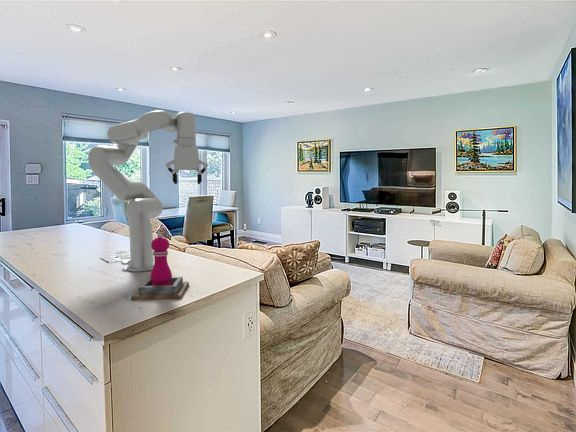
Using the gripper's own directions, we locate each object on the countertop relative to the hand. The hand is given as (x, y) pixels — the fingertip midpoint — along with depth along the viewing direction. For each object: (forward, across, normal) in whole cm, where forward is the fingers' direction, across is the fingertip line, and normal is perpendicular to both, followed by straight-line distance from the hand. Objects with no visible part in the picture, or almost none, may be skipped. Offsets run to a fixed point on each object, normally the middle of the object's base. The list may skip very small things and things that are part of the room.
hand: (187, 183), depth 148 cm
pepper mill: (+37, -5, -27) cm, 46 cm away
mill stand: (+38, -5, -27) cm, 47 cm away
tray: (+39, -34, +34) cm, 62 cm away
